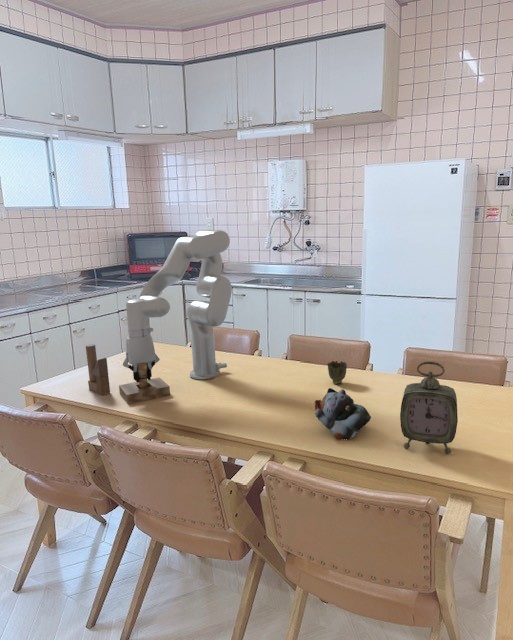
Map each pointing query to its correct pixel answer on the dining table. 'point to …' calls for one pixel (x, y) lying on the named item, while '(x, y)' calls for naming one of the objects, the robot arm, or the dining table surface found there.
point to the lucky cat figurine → (341, 414)
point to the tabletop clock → (429, 411)
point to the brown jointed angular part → (97, 371)
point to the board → (144, 390)
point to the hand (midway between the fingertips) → (142, 379)
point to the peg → (142, 375)
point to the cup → (337, 371)
